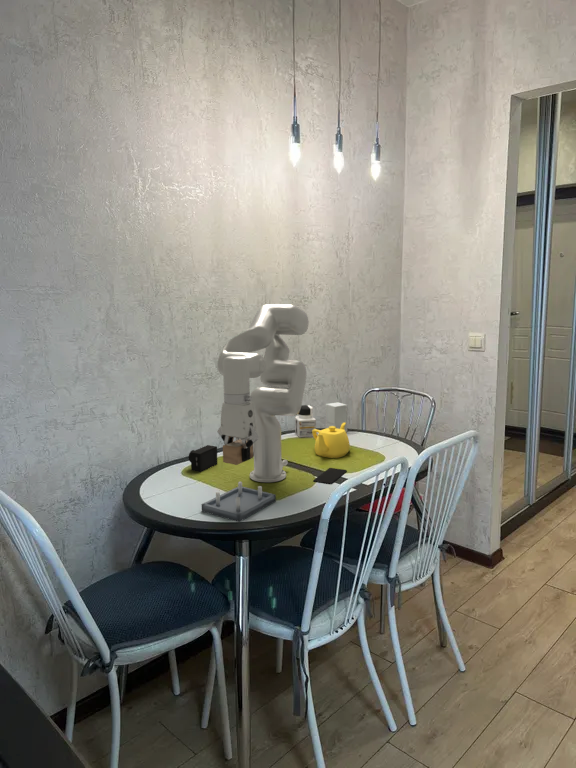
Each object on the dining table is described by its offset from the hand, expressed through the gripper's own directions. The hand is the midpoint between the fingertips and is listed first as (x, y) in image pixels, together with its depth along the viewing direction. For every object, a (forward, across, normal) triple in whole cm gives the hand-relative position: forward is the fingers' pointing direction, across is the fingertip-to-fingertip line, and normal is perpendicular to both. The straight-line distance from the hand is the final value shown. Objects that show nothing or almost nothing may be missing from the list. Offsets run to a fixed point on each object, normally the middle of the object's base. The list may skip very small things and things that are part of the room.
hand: (238, 458), depth 165 cm
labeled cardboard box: (+1, 0, 0) cm, 1 cm away
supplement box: (+15, +17, -92) cm, 95 cm away
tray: (+15, 0, 0) cm, 15 cm away
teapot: (+15, +4, -62) cm, 64 cm away
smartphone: (+16, -10, -38) cm, 42 cm away
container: (+15, +26, -80) cm, 85 cm away
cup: (+15, +34, -47) cm, 60 cm away
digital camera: (+15, +34, -22) cm, 44 cm away
